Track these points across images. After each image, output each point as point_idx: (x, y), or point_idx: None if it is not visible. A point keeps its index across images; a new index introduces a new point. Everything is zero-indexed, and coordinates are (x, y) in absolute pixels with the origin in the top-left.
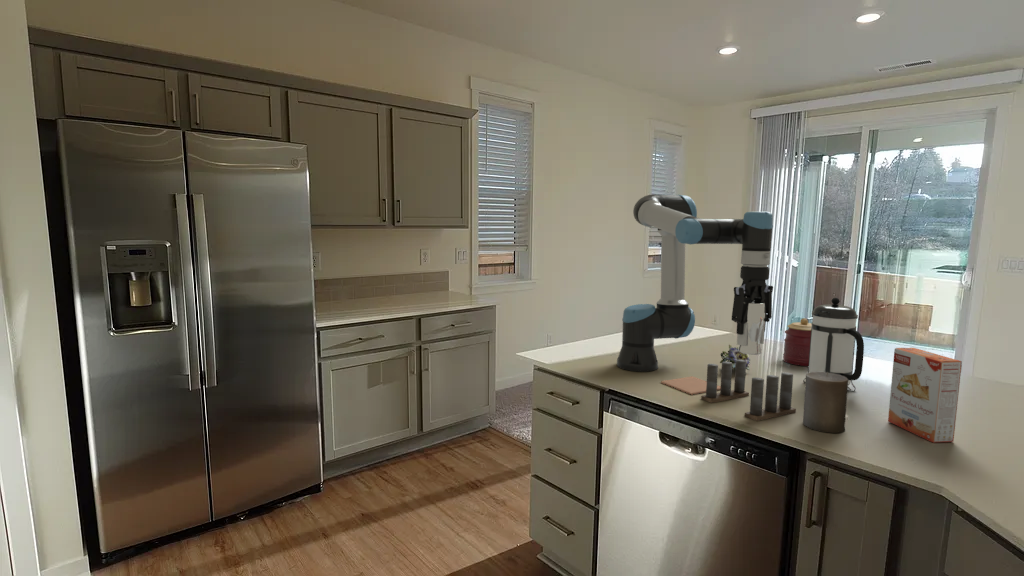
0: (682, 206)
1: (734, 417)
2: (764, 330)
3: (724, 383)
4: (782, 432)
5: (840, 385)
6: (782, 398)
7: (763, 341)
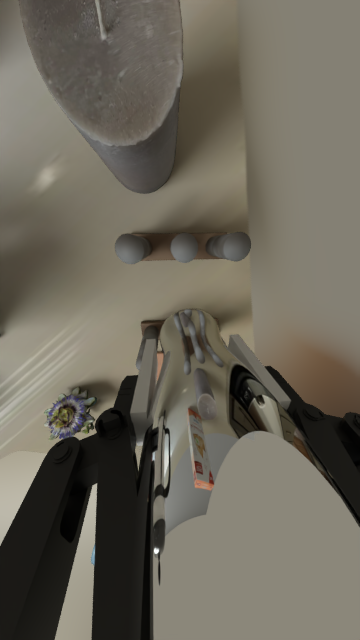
0: None
1: (240, 260)
2: (126, 380)
3: None
4: (234, 169)
5: None
6: (149, 246)
7: (147, 343)
